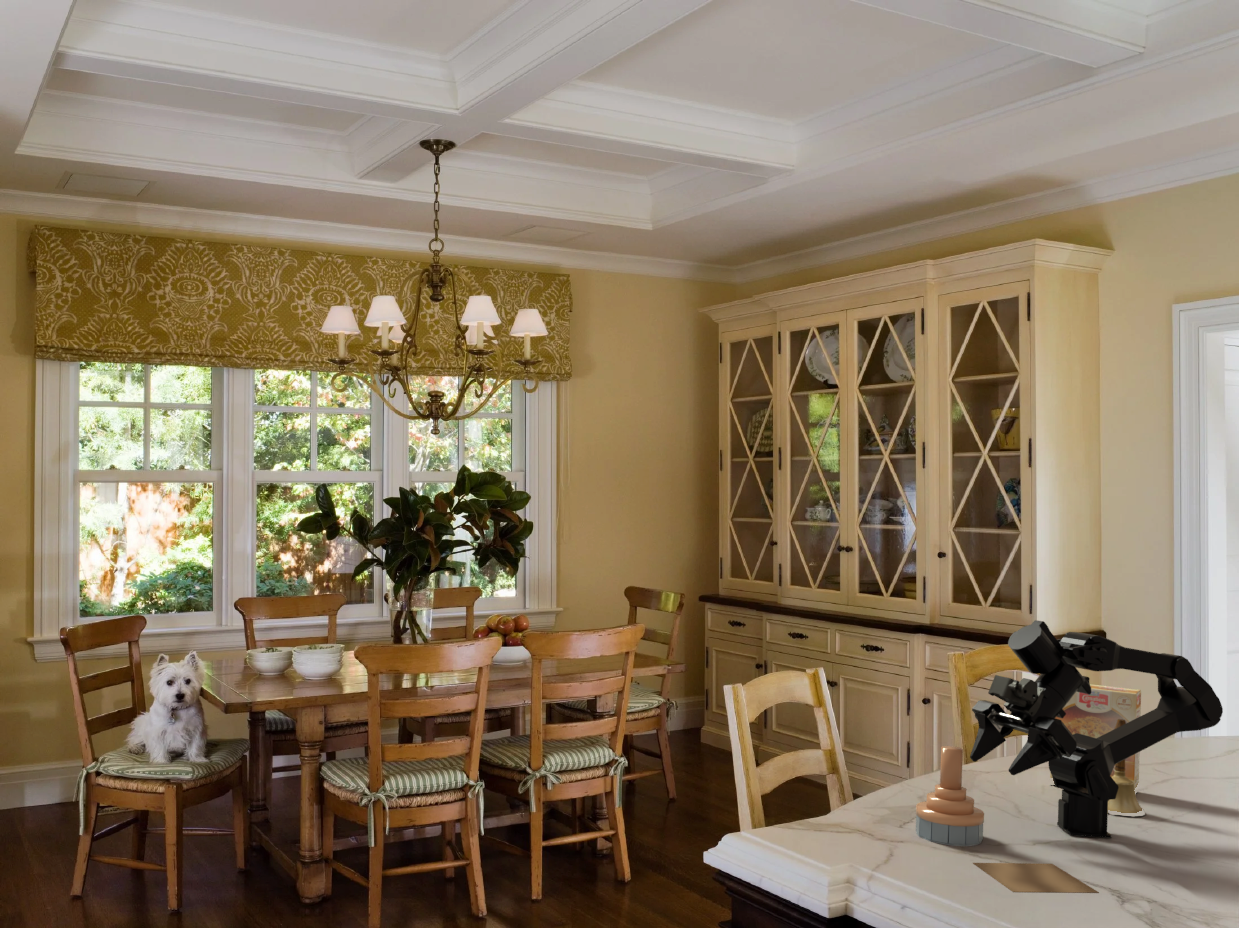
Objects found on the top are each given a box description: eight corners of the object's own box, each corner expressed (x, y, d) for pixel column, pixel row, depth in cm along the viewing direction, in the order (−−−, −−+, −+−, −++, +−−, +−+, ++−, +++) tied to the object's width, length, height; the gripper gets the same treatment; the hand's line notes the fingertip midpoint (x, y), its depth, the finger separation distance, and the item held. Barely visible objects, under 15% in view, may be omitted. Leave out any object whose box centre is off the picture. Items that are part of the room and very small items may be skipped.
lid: (993, 818, 168) (995, 749, 168) (969, 830, 160) (971, 758, 161) (931, 805, 174) (934, 739, 175) (905, 816, 167) (907, 746, 167)
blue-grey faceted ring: (972, 833, 172) (972, 811, 172) (989, 851, 162) (990, 827, 162) (910, 829, 172) (911, 807, 172) (924, 847, 163) (925, 823, 163)
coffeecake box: (1049, 785, 209) (1051, 683, 210) (1055, 779, 215) (1058, 679, 216) (1134, 799, 201) (1137, 692, 202) (1139, 792, 207) (1141, 688, 208)
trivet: (1052, 868, 155) (1052, 863, 155) (1099, 897, 143) (1099, 892, 144) (972, 867, 154) (972, 862, 154) (1012, 896, 142) (1013, 891, 142)
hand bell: (1084, 804, 195) (1087, 714, 196) (1129, 806, 195) (1131, 716, 196) (1109, 817, 186) (1111, 723, 187) (1155, 818, 187) (1157, 725, 188)
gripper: (982, 651, 182) (925, 719, 177) (1063, 666, 164) (1001, 743, 160) (1020, 697, 184) (964, 766, 180) (1103, 718, 166) (1043, 794, 162)
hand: (990, 766), depth 170 cm, fingers open, 9 cm apart
